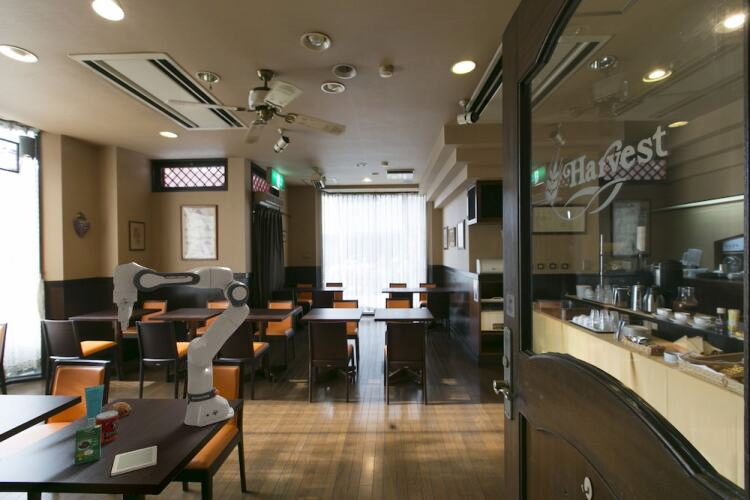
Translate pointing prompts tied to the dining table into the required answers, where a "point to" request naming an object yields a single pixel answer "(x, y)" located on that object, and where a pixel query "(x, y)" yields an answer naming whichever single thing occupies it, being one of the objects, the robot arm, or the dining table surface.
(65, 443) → the dining table surface
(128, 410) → the bread roll
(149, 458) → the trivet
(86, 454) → the coffee box
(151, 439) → the dining table surface
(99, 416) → the canned food
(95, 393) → the tube
